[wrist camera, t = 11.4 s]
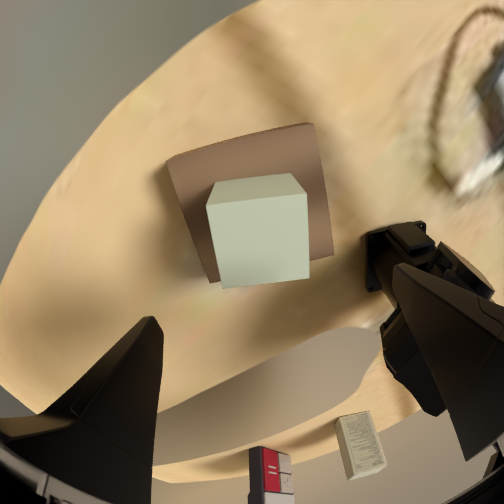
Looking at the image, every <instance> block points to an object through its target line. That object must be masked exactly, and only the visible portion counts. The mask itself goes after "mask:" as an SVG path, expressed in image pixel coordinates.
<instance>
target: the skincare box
mask: <svg viewBox="0 0 504 504" xmlns="http://www.w3.org/2000/svg"><path fill="white" fill-rule="evenodd" d="M334 427H335V431H336V435H337V439H338V443H339V448H340V452H341V456H342V460H343V464H344V468H345V472H346V477H347V480H348V481H349V480H353V479H356V478H360V477H364V476H367V475H370V474H374V473H376V472H379V471H380V470H382V469H383V468H385V467H386V466H387V462H386V459H385V455H384V452H383V449H382V446H381V443H380V440H379V437H378V434H377V431H376V428H375V425H374V422H373V419H372V416H371V413H370V411H366V412H361V413H357V414H352V415H347V416H343V417H339V418H338V420H337V422H336V424H335V426H334Z"/></svg>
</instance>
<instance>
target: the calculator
mask: <svg viewBox="0 0 504 504" xmlns="http://www.w3.org/2000/svg"><path fill="white" fill-rule="evenodd" d="M291 473H292V466H291V457H290V456H289V455H287V454H283V453H280V452H277V451H274V450H271V449H268V448H265V447H262V446H259V447H255V448H252V449H249V474H250V493H249V495H248V504H295V501H294V495H293V493H294V484H293V476H292V475H291Z"/></svg>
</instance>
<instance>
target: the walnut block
mask: <svg viewBox="0 0 504 504" xmlns="http://www.w3.org/2000/svg"><path fill="white" fill-rule="evenodd" d="M166 164H167V167H168V170H169V173H170V176H171V179H172V182H173V185H174V188H175V191H176V194H177V197H178V200H179V203H180V205H181V208H182V211H183V214H184V217H185V219H186V222H187V225H188V228H189V230H190V233H191V236H192V238H193V241H194V244H195V246H196V249H197V252H198V254H199V257H200V260H201V262H202V265H203V267H204V270H205V272H206V275H207V277H208V280H209V282H210V283H214V282H219V281H221V278H220V273H219V269H218V264H217V259H216V254H215V249H214V245H213V240H212V235H211V230H210V224H209V219H208V214H207V209H206V204H207V202H208V199H209V197H210V194H211V192H212V189H213V187H214V184H215V182H220V181H227V180H234V179H242V178H250V177H258V176H267V175H276V174H286V173H291V174H292V176H293V177H294V178H295V179H296V181H297V182H298V183H299V184H300V186H301V187H302V188H303V189H304V191H305V192H306V193H307V208H308V232H309V261H312V260H316V259H320V258H324V257H328V256H333V255H334V247H333V239H332V230H331V223H330V215H329V208H328V201H327V195H326V188H325V182H324V176H323V170H322V165H321V159H320V154H319V149H318V144H317V139H316V134H315V129H314V124H312V123H300V124H294V125H289V126H284V127H279V128H274V129H270V130H265V131H261V132H256V133H252V134H248V135H244V136H240V137H236V138H232V139H228V140H225V141H221V142H217V143H214V144H210V145H207V146H204V147H200V148H197V149H194V150H191V151H187V152H184V153H181V154H178V155H175V156H173V157H172V158H170V159H168V160H167V161H166Z"/></svg>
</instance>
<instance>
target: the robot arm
mask: <svg viewBox="0 0 504 504" xmlns="http://www.w3.org/2000/svg"><path fill="white" fill-rule="evenodd" d="M421 225H422V227H421ZM420 227H421V228H420ZM371 236H373V238H372V239H370V237H371ZM437 247H438V248H437ZM437 247H436V246H435V242H434V240H433V239H431V238H430V237H429V236H428V235H427V234H426V224H425V223H424V222H423V221H417V222H406V223H401V224H396V225H392V226H389V227H387V228H384V229H380V230H375V231H370V232H368V233H367V235H366V286H365V287H366V290H367V291H368V292H374V291H378V290H381V289H382V290H383V291H384V293H385V294H386V296H387V297H388V299H389V300H390V302H391V304H392V305H393V307H394V308H395V310H394V312H393V313H392V314H391V315H390V317H389V318H388V319H387V320H386V322H383V324H382V325H381V326H380V333H381V339H382V346H383V356H384V359H385V363H386V366H387V368H388V369H389V370H390V372H391V373H392V374H393V376H394V378H395V379H396V380H397V381H399V382H400V383H401V384H403V385H404V386H405V387H406V388H407V389H408V390H409V391H410V392H411V393H412V395H413V396H414V397H415V399H416V400H417V402H418V403H419V405H420V406H421V408H422V409H423V411H424V412H426V413H428V414H430V415H432V416H435V417H437V416H439V415H440V414H441V413H443V412H444V411H445V410H446V409H447V410H448V412H449V414H450V418H451V420H452V423H453V426H454V428H455V431H456V434H457V437H458V440H459V443H460V446H461V449H462V452H463V455H464V458H465V461H468V460H470V459H472V458H473V457H475V456H476V455H478V454H479V453H481V452H482V451H484V450H485V449H487V448H488V447H490V446H491V445H493V447H494V448H495V449H496V451H497V452H496V453H495V454H493V455H492V456H491V458H490V461H489V464H488V466H487V469H486V472H485V474H484V476H483V479H482V480H481V481H479V482H478V483H476V484H474V485H473V486H471V487H470V488H468V489H467V490H465V491H463V492H462V493H460V494H458V495H457V496H455V497H453V498H451V499H450V500H448V501H446V502H444V503H442V504H504V307H503V306H500V305H498V304H496V303H495V302H494V301H493V300H492V299H491V297H492V295H493V294H494V292H495V290H494V289H493V287H492V286H491V284H490V283H489V282H488V280H487V279H486V278H485V276H484V275H483V274H482V273H481V272H480V271H479V270H478V269H476V268H475V267H474V266H473V265H472V264H471V263H470V262H469V261H467V260H466V259H465V258H464V257H462V256H461V255H460V254H458V253H457V252H455V251H454V250H453V249H451V248H450V247H448V246H447V245H446V244H444V243H443V242H441V241H440V243H439V245H438V246H437ZM371 286H372V287H371ZM370 287H371V288H370ZM163 344H164V334H163V331H162V329H161V327H160V326H159V324H158V322H157V320H156V319H155V317H153V316H148V317H143V318H142V319H141V320H140V321H139V322H138V323H137V324H136V325H135V326H134V327H132V328H131V329H130V330H129V331H128V332H127V333H126V334H125V335H124V336H123V337H122V338H121V339H120V340H119V341H118V342H117V343H116V344H115V345H114V346H113V347H112V348H111V349H110V350H109V351H108V352H107V353H106V354H104V355H103V356H102V357H101V358H100V359H99V360H98V361H97V362H96V363H95V364H94V365H93V366H92V367H91V368H90V369H89V370H88V371H87V373H85V374H84V375H83V376H82V377H81V378H80V379H79V380H78V381H77V382H76V383H75V384H74V385H73V386H72V387H71V388H70V389H68V390H67V391H66V392H65V393H64V394H63V395H62V396H61V397H59V398H58V399H57V400H56V401H55V402H54V403H53V404H51V405H50V406H49V407H48V408H47V409H46V410H44V411H43V412H41V413H40V414H37V415H34V416H28V417H13V418H0V448H2V449H3V450H2V453H1V456H0V504H151V484H152V482H151V481H152V468H151V467H152V464H153V463H152V462H153V450H154V438H155V427H156V418H157V409H158V400H159V392H160V385H161V377H162V368H163Z"/></svg>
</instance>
